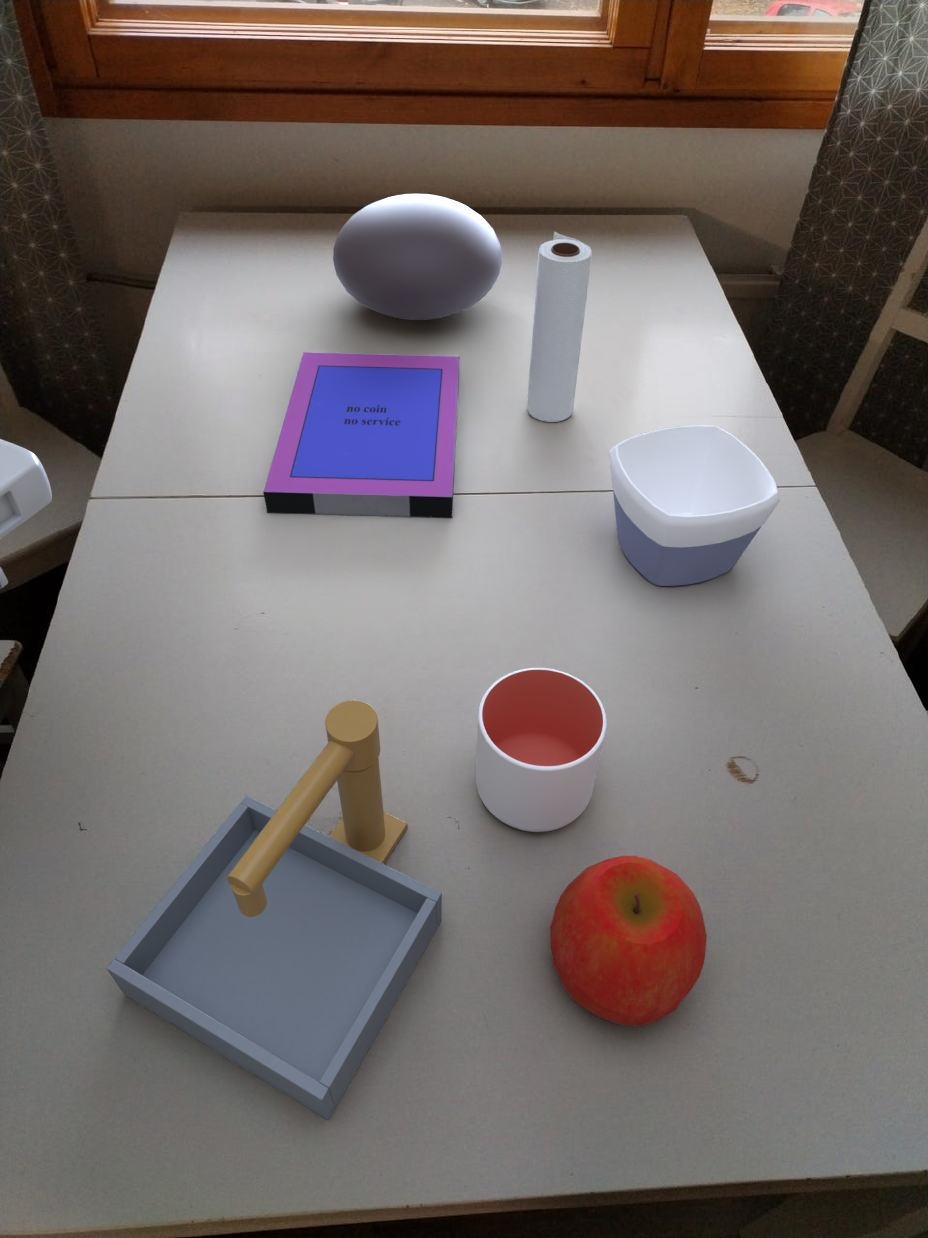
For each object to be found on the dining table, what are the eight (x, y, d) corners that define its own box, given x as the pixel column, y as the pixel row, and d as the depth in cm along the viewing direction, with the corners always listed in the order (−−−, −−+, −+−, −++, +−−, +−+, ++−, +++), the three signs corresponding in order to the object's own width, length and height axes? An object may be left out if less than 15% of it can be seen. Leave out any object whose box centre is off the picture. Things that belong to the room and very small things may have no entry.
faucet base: (376, 877, 71) (366, 794, 62) (323, 850, 72) (306, 765, 63) (408, 827, 74) (403, 742, 65) (356, 803, 75) (345, 716, 66)
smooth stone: (335, 349, 126) (325, 244, 115) (338, 269, 143) (329, 171, 132) (508, 344, 128) (514, 240, 117) (491, 265, 145) (494, 168, 134)
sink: (328, 1121, 59) (321, 1100, 55) (122, 994, 64) (105, 968, 61) (442, 920, 68) (441, 893, 65) (254, 824, 74) (246, 794, 70)
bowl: (701, 495, 105) (722, 413, 97) (772, 581, 95) (803, 499, 87) (581, 520, 101) (593, 438, 93) (642, 613, 91) (661, 530, 83)
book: (263, 491, 99) (303, 351, 120) (267, 512, 101) (305, 371, 122) (452, 497, 99) (459, 356, 119) (452, 517, 101) (459, 376, 122)
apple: (675, 893, 70) (704, 821, 62) (707, 1037, 63) (744, 977, 55) (539, 897, 70) (550, 826, 62) (555, 1043, 62) (570, 983, 54)
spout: (268, 928, 56) (256, 893, 52) (221, 903, 57) (207, 867, 53) (390, 750, 65) (387, 711, 62) (348, 732, 66) (343, 692, 63)
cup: (609, 767, 78) (625, 695, 71) (563, 858, 72) (577, 790, 65) (506, 723, 81) (512, 650, 74) (454, 807, 75) (455, 737, 68)
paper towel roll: (562, 428, 113) (581, 264, 98) (519, 416, 115) (530, 253, 100) (582, 400, 118) (603, 239, 102) (540, 389, 120) (554, 228, 104)
